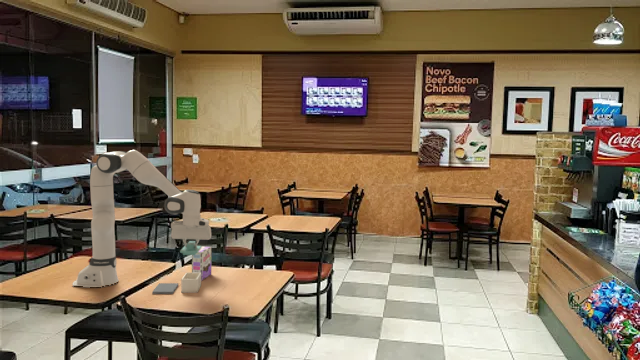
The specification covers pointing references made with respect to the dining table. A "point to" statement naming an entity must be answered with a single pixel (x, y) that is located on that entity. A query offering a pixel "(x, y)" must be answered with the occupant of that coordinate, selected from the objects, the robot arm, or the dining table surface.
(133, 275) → the dining table surface
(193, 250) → the lid
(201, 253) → the candy box
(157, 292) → the mat
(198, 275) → the tub
